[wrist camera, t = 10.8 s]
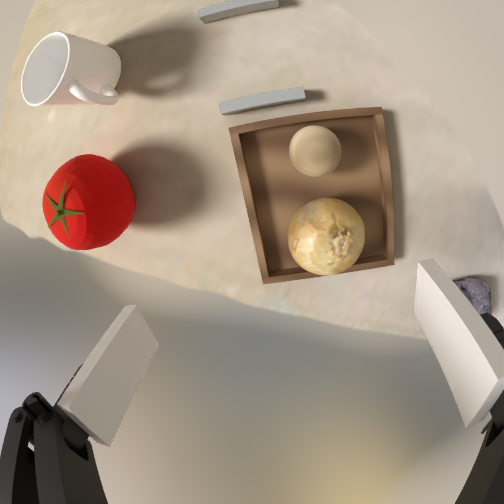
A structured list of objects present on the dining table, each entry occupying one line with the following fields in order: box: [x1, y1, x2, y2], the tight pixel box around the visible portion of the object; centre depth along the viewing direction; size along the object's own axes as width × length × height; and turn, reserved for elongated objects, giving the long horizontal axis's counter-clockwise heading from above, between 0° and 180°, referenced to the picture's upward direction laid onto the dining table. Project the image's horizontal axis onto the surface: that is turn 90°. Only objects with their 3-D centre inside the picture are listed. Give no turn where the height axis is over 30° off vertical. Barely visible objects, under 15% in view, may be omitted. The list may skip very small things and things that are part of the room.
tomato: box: [43, 154, 135, 250], centre depth 26 cm, size 10×11×11 cm
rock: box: [454, 278, 492, 315], centre depth 29 cm, size 11×10×10 cm
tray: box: [229, 107, 394, 284], centre depth 28 cm, size 18×16×2 cm
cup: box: [21, 32, 121, 106], centre depth 21 cm, size 8×12×10 cm
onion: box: [288, 198, 365, 275], centre depth 27 cm, size 8×8×7 cm
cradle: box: [198, 0, 306, 115], centre depth 22 cm, size 13×8×2 cm, turn 13°
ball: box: [289, 125, 342, 177], centre depth 24 cm, size 5×5×5 cm
